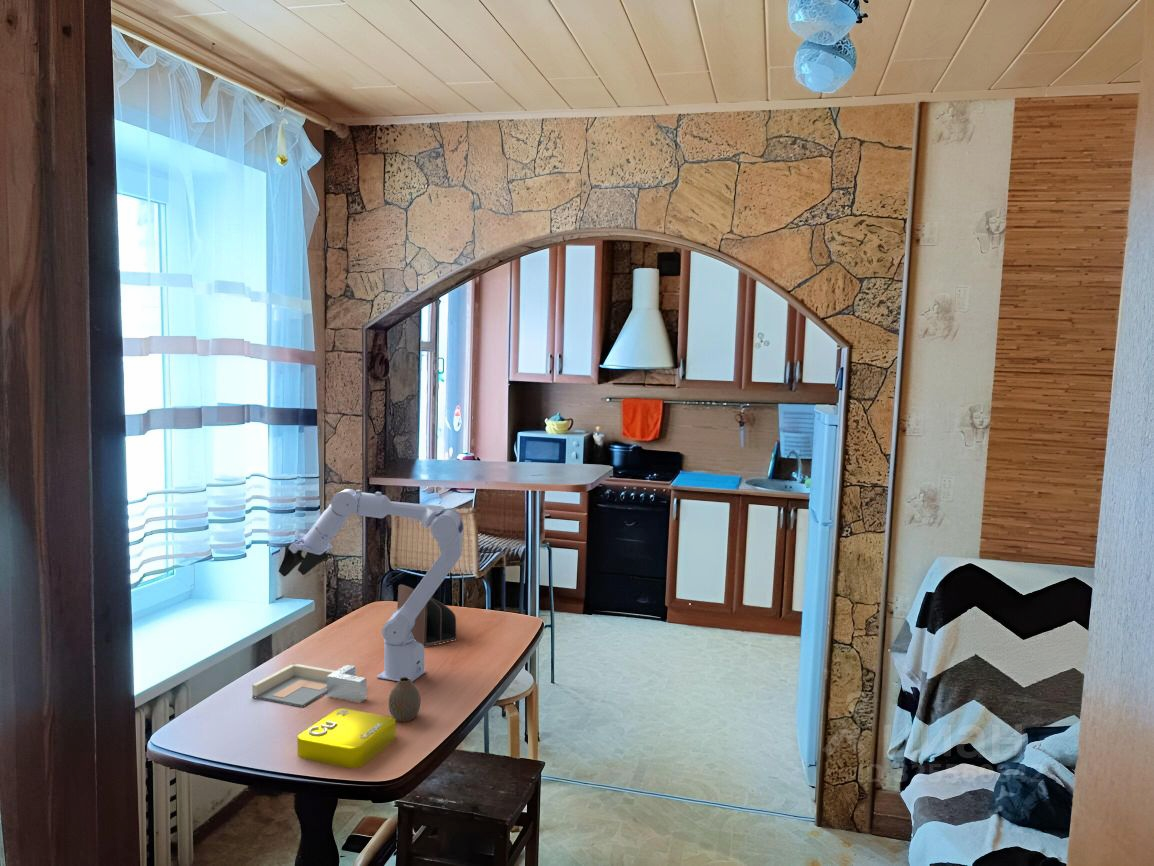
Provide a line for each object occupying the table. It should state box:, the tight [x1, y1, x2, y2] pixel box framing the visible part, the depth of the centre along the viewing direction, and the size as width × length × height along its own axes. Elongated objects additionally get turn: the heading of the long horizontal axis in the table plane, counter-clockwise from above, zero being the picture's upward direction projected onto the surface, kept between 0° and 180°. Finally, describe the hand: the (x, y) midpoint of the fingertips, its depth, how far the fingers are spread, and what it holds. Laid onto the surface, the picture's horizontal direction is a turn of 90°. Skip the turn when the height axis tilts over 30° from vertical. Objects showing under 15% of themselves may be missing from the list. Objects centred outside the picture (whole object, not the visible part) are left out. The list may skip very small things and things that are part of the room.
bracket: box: [326, 664, 367, 703], centre depth 182 cm, size 9×8×5 cm
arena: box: [251, 663, 336, 708], centre depth 183 cm, size 14×14×3 cm
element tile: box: [296, 707, 397, 769], centre depth 157 cm, size 15×15×5 cm
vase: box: [388, 677, 422, 722], centre depth 170 cm, size 7×7×9 cm
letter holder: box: [396, 584, 457, 647], centre depth 223 cm, size 10×20×14 cm, turn 35°
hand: (291, 573), depth 191 cm, fingers open, 7 cm apart
